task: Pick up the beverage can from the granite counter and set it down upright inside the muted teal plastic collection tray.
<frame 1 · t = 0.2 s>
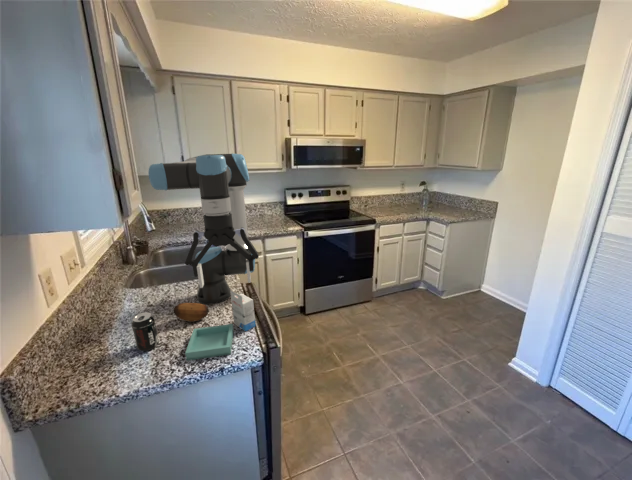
hand: (226, 283, 86), 28 cm above the countertop, fingers open, 13 cm apart
ink box: (244, 325, 115), on the countertop
beverage can: (148, 347, 103), on the countertop
collection tray: (212, 344, 103), on the countertop
potato: (193, 320, 119), on the countertop
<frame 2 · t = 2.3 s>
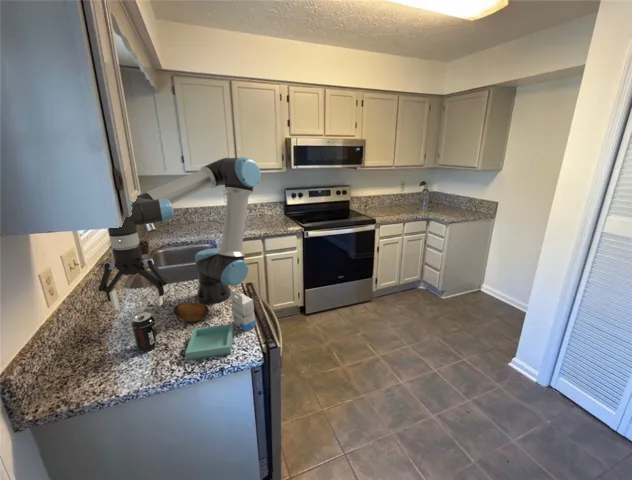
hand: (138, 306, 98), 16 cm above the countertop, fingers open, 13 cm apart
nothing on the countertop moved.
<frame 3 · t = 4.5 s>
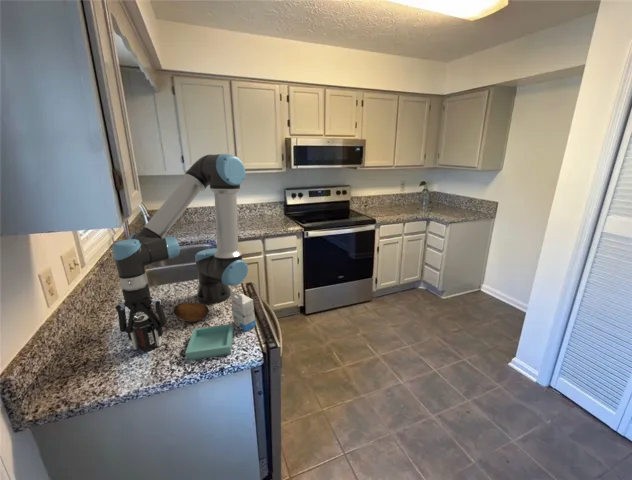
hand: (148, 345, 103), 1 cm above the countertop, fingers closed on beverage can, 7 cm apart
beverage can: (148, 347, 103), on the countertop, touching gripper
everything else where it was.
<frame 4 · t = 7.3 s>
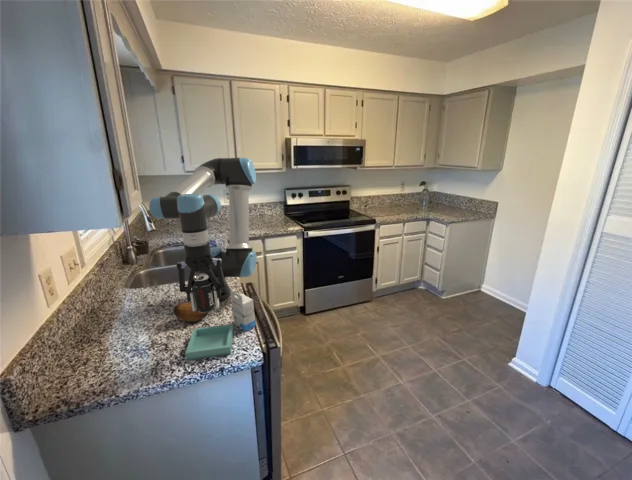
hand: (206, 307, 99), 15 cm above the countertop, fingers closed on beverage can, 7 cm apart
beverage can: (206, 309, 99), point 14 cm above the countertop, touching gripper
everything else where it was.
when the fingers open (3 cm above the countertop, at t = 10.1 s): beverage can drops 1 cm, resting on collection tray.
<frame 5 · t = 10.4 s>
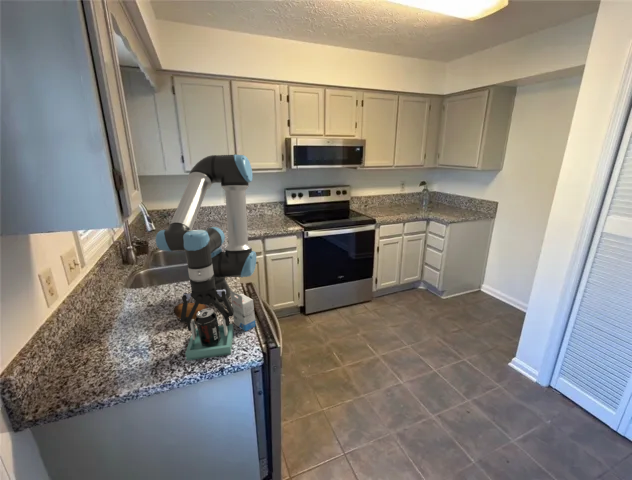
hand: (210, 335, 102), 4 cm above the countertop, fingers open, 10 cm apart
beverage can: (211, 342, 103), point 1 cm above the countertop, touching collection tray
everything else where it was.
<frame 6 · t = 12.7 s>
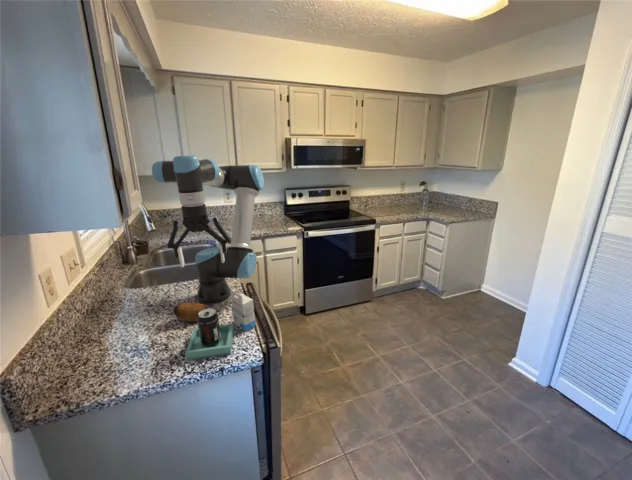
hand: (203, 263, 103), 28 cm above the countertop, fingers open, 13 cm apart
nothing on the countertop moved.
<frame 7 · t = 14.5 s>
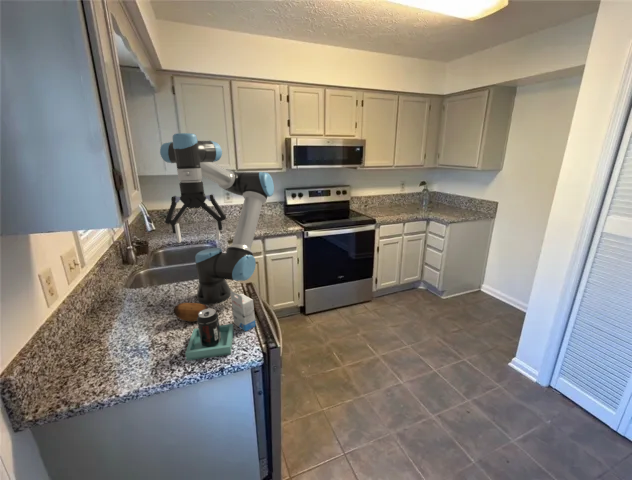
hand: (199, 240, 106), 35 cm above the countertop, fingers open, 13 cm apart
nothing on the countertop moved.
at the end: beverage can inside the target area on the collection tray (0.1 cm from its centre), point 0.6 cm above the collection tray's base; beverage can tilted 0°; the gripper is holding nothing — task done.
